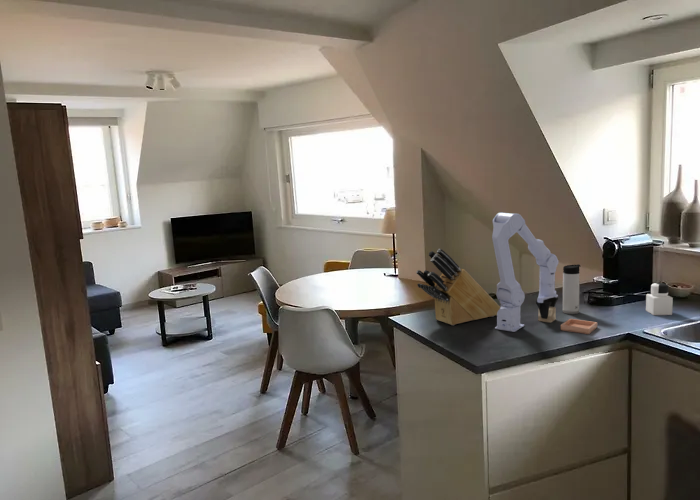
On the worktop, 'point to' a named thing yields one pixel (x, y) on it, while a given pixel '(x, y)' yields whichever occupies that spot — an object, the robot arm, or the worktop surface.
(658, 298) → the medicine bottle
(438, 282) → the knife block
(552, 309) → the beech block
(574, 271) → the travel mug
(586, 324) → the terracotta tray
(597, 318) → the worktop surface
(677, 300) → the worktop surface
